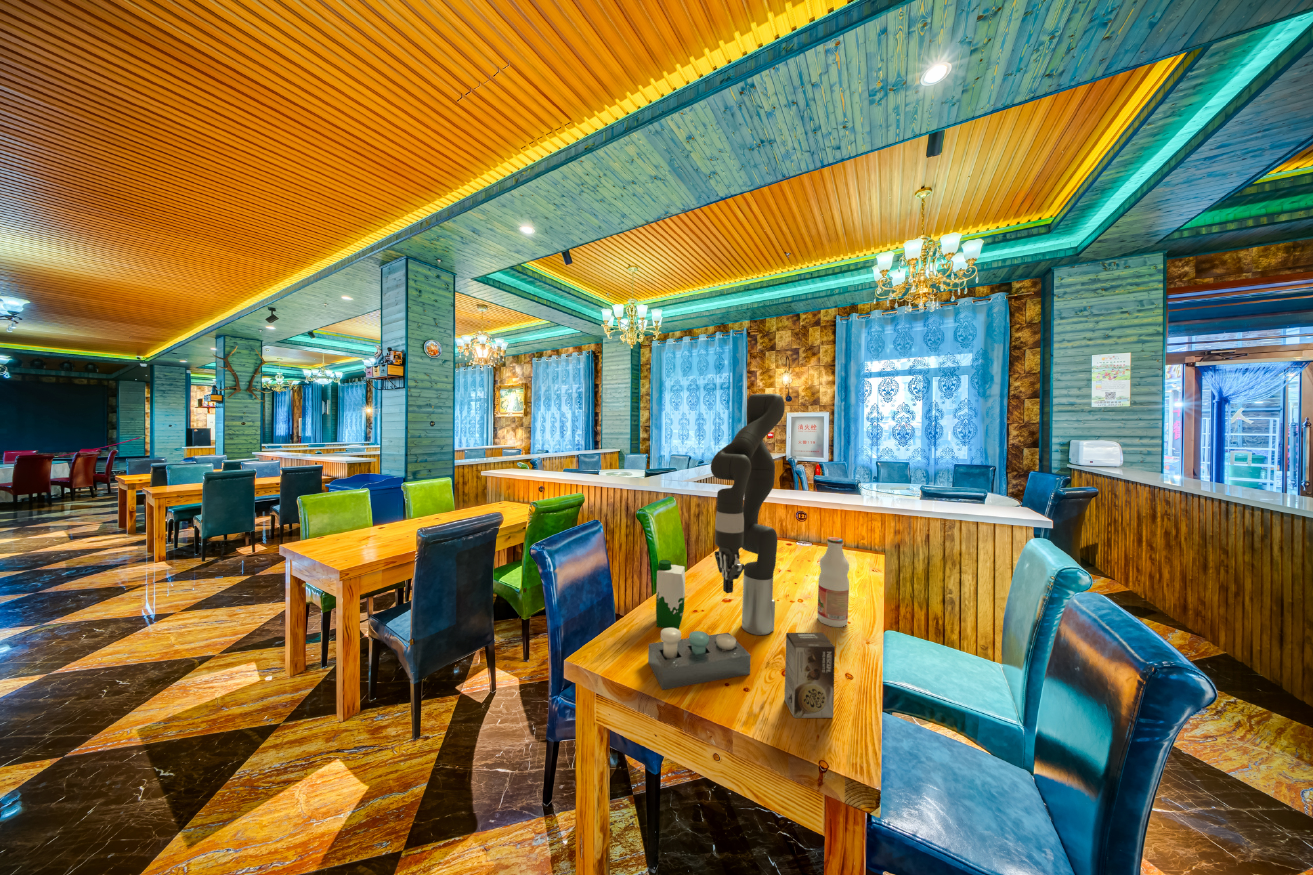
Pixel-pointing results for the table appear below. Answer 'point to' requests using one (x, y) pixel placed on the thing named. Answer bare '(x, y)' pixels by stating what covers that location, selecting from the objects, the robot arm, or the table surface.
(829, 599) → the fruit juice
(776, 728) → the table surface
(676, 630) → the ivory plug
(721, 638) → the ivory plug
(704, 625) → the table surface
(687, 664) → the socket strip
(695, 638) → the plug teal
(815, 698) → the coffee box
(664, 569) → the milk carton
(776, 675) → the table surface
